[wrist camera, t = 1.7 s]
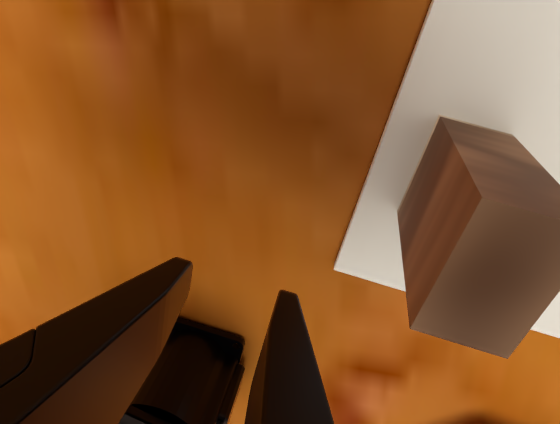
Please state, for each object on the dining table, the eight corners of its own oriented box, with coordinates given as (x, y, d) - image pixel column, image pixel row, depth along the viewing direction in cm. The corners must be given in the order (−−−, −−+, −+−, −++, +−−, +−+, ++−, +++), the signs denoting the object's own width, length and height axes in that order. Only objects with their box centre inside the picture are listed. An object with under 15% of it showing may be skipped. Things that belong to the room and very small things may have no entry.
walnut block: (397, 211, 20) (409, 328, 13) (439, 114, 18) (482, 197, 11) (460, 230, 20) (507, 358, 13) (513, 134, 17) (604, 232, 11)
